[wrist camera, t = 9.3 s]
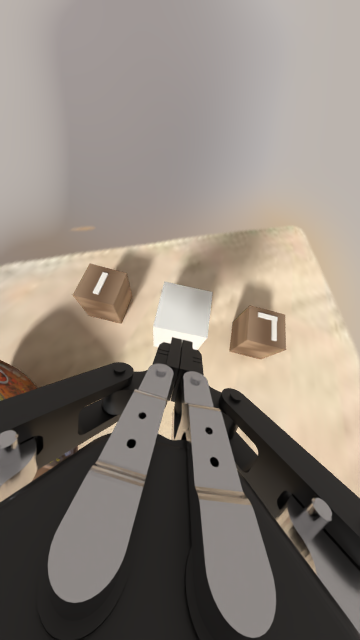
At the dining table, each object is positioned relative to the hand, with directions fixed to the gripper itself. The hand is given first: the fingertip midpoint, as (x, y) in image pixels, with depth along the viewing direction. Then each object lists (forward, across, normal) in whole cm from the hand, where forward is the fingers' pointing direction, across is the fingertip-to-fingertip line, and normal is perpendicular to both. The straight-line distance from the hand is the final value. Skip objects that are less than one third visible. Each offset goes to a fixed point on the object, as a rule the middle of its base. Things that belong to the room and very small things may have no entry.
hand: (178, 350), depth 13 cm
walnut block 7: (+15, -11, +4) cm, 19 cm away
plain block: (+14, 0, +5) cm, 15 cm away
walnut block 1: (+16, +11, +4) cm, 19 cm away
